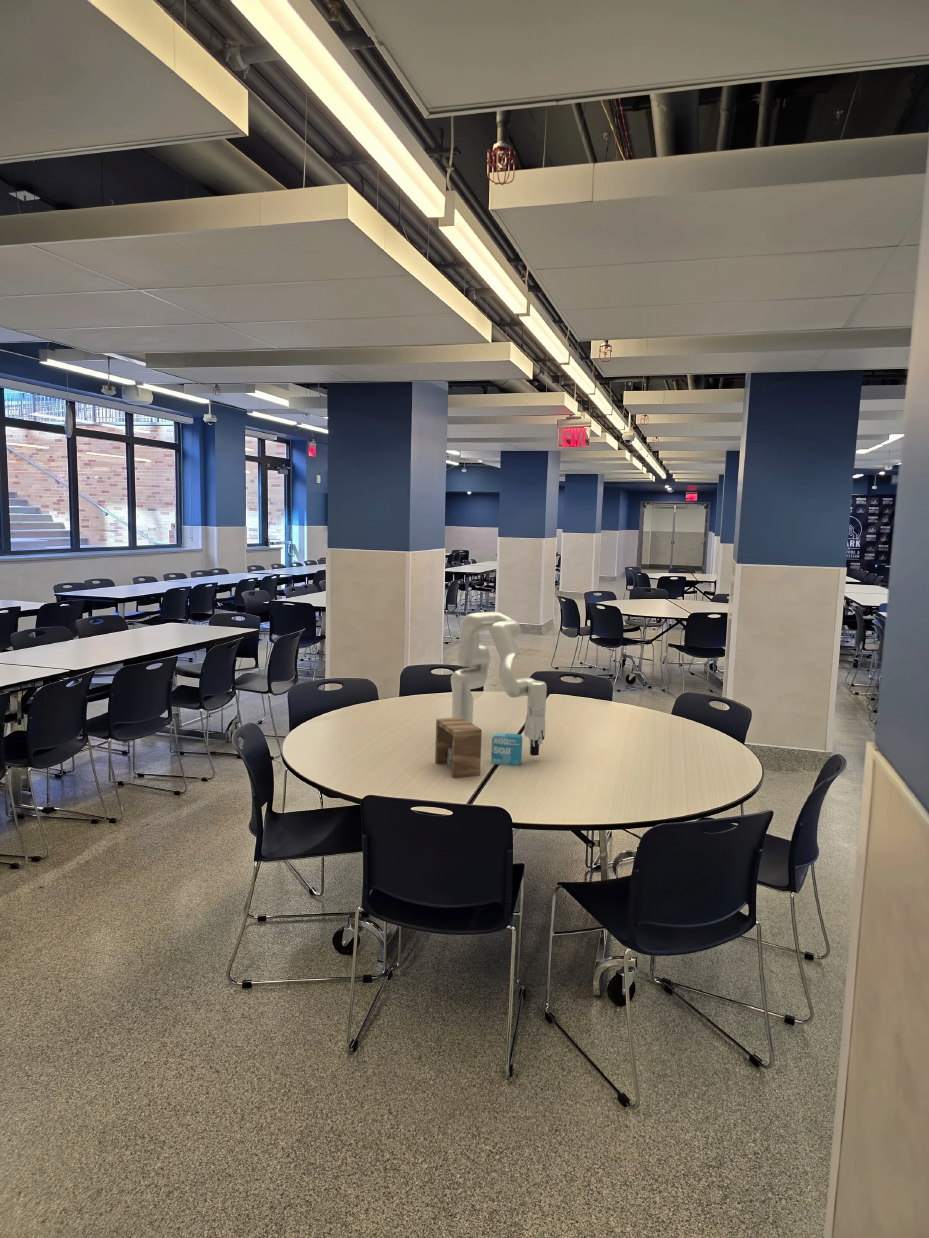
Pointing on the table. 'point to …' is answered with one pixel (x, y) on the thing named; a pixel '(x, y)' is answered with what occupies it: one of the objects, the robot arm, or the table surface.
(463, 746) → the overhang shelf
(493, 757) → the data package
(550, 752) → the table surface
